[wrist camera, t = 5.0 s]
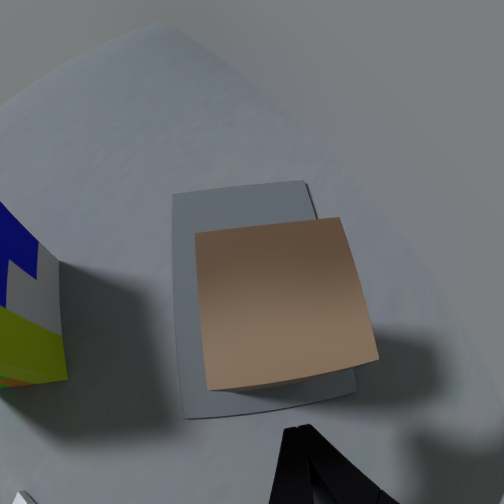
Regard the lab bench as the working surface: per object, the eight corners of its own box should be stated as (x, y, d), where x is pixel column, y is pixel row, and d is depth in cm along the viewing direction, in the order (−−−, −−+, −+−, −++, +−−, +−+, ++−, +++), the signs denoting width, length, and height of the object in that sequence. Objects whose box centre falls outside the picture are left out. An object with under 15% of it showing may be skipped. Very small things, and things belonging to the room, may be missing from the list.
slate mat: (356, 391, 16) (358, 391, 16) (184, 418, 16) (183, 418, 15) (303, 182, 24) (304, 180, 24) (173, 196, 23) (172, 194, 23)
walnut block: (305, 381, 17) (379, 359, 7) (233, 392, 16) (207, 390, 7) (293, 314, 19) (339, 217, 9) (224, 323, 18) (194, 233, 9)
